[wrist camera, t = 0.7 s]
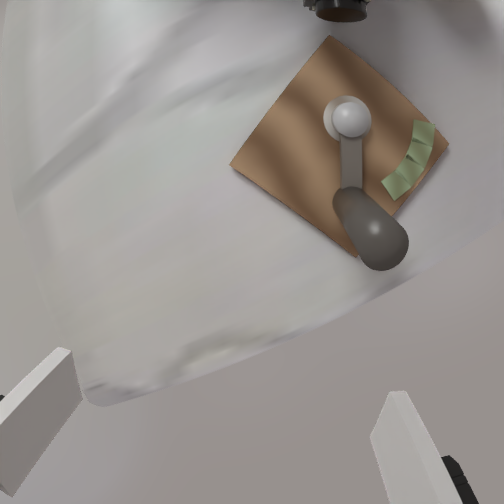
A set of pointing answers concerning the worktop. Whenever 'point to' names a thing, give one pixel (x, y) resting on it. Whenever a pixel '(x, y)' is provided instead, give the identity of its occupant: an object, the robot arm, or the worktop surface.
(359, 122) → the peg lever
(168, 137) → the worktop surface
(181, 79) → the worktop surface
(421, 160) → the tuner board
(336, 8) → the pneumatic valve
